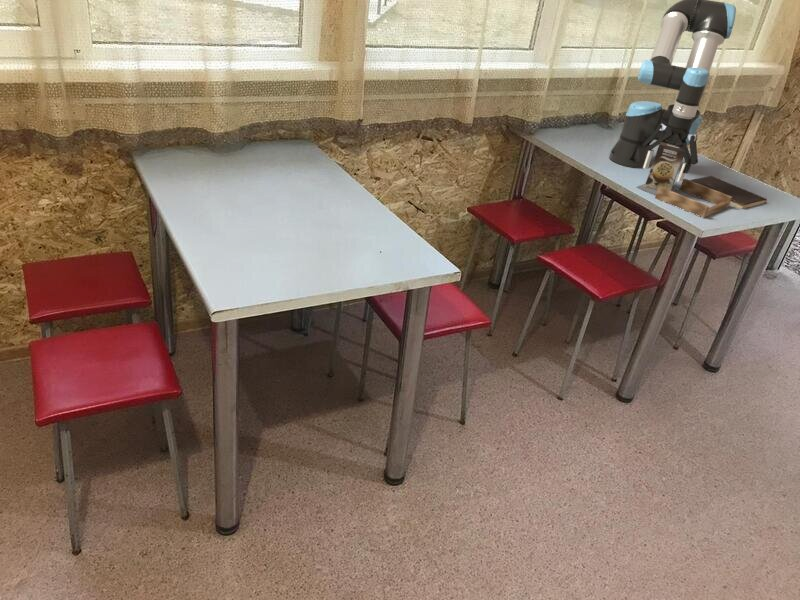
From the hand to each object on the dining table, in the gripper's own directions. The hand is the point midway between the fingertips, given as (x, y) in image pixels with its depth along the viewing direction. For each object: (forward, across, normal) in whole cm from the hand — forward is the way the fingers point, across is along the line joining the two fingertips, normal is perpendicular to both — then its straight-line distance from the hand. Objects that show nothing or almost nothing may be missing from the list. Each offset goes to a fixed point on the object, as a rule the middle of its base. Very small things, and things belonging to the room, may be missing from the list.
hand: (662, 174), depth 234 cm
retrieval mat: (+6, 0, 0) cm, 6 cm away
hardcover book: (+6, +16, +22) cm, 28 cm away
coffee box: (+5, 0, 0) cm, 5 cm away
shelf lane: (+6, +14, 0) cm, 15 cm away
